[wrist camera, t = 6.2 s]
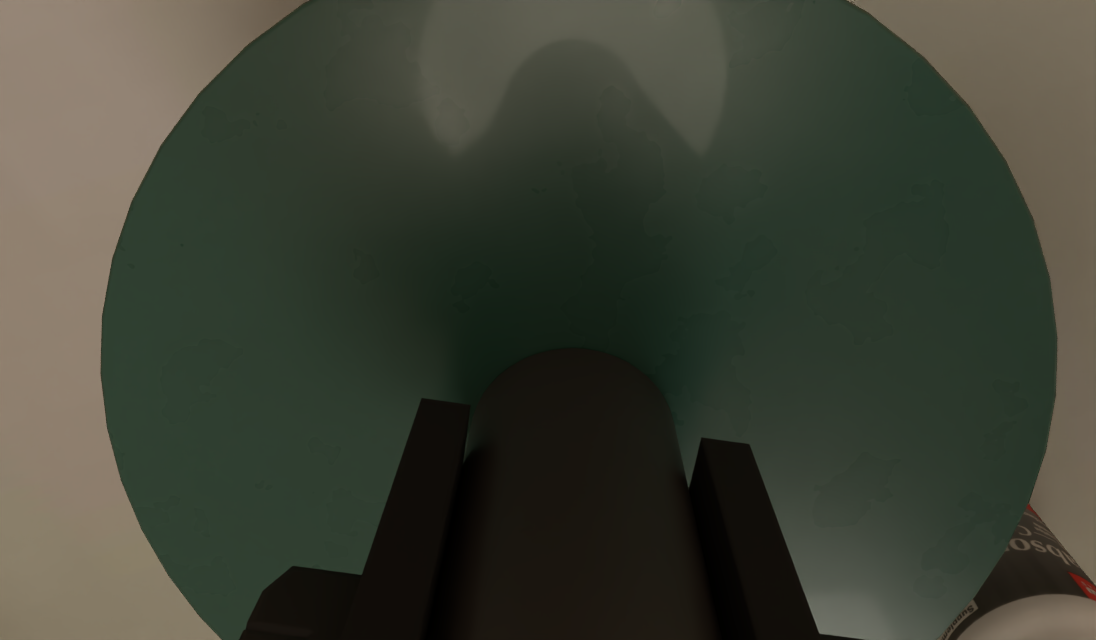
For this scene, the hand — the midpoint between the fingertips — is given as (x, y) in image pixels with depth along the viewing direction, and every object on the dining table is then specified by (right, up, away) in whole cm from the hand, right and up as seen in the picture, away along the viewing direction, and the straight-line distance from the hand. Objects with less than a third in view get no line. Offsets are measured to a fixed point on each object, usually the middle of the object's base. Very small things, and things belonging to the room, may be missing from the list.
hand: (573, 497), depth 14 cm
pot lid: (0, +1, +2) cm, 2 cm away
